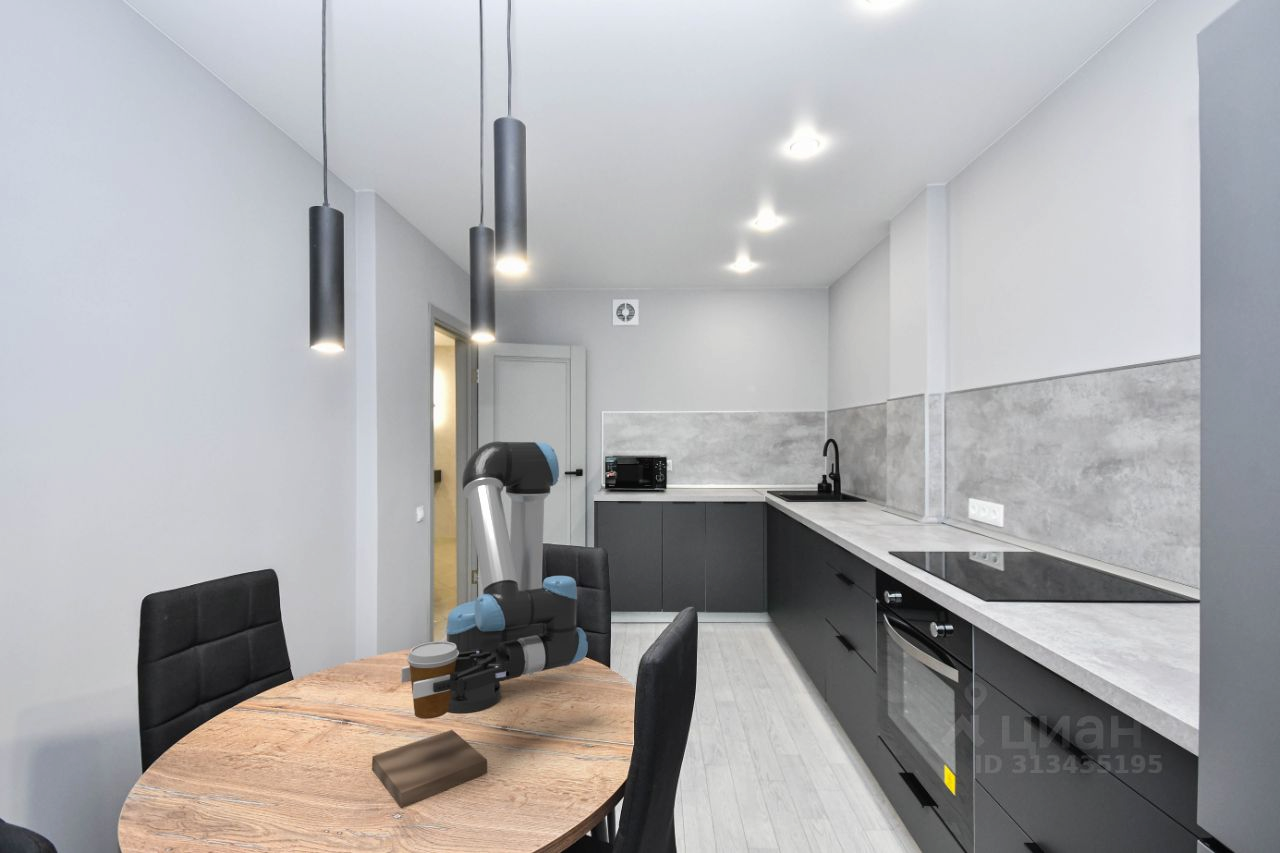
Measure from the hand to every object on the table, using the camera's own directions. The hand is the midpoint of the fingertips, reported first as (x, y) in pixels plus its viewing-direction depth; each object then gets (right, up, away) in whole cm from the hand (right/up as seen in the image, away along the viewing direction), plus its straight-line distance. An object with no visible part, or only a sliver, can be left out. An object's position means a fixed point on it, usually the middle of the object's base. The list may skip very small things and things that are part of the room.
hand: (407, 682), depth 106 cm
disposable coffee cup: (+4, -7, +2) cm, 8 cm away
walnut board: (+3, -18, +2) cm, 18 cm away
